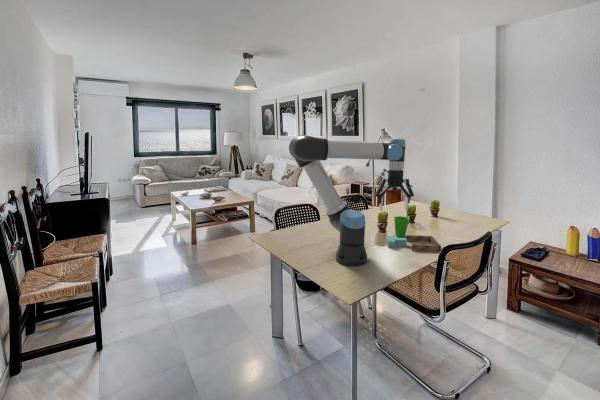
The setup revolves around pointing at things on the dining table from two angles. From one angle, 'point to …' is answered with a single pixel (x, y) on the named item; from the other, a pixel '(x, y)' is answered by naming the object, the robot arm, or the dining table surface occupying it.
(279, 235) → the dining table surface
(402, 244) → the tee
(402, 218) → the cup
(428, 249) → the corral
